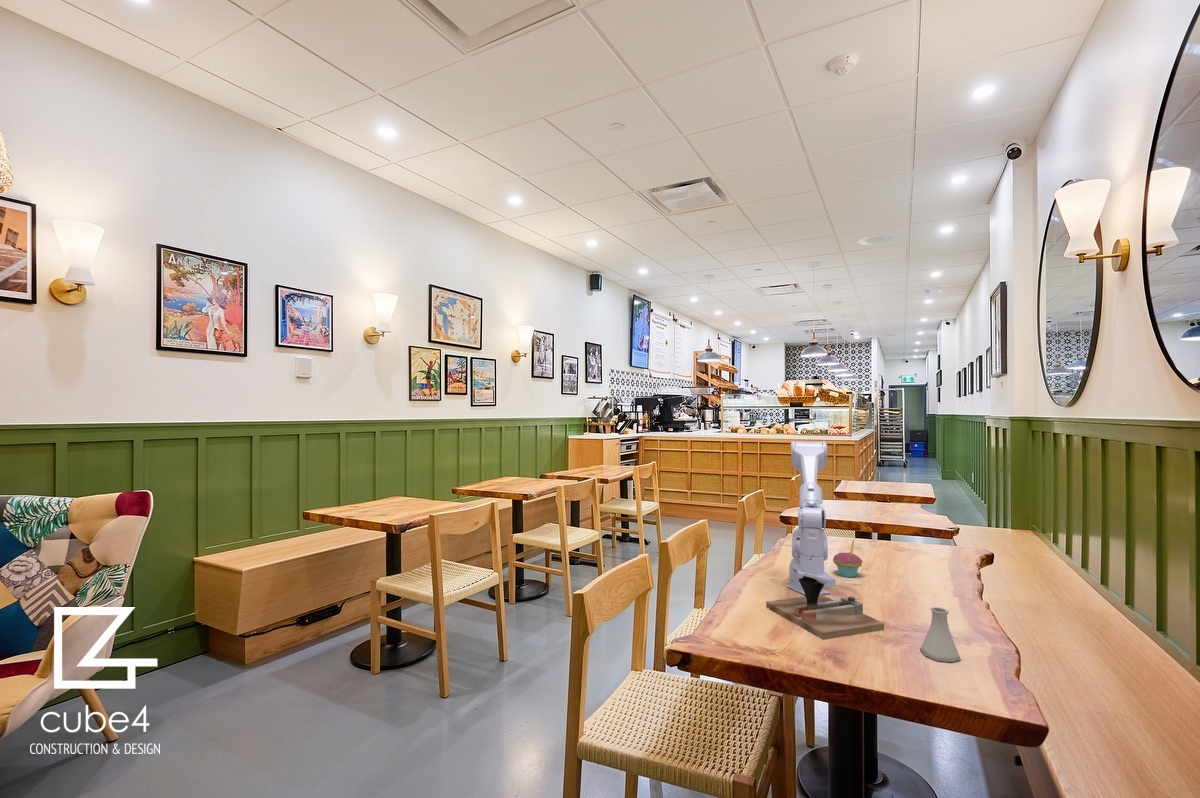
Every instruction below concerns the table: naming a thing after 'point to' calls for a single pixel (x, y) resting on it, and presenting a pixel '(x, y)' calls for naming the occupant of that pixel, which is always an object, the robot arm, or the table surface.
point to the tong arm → (816, 606)
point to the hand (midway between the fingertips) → (812, 607)
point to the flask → (939, 638)
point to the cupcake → (847, 563)
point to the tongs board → (828, 617)
